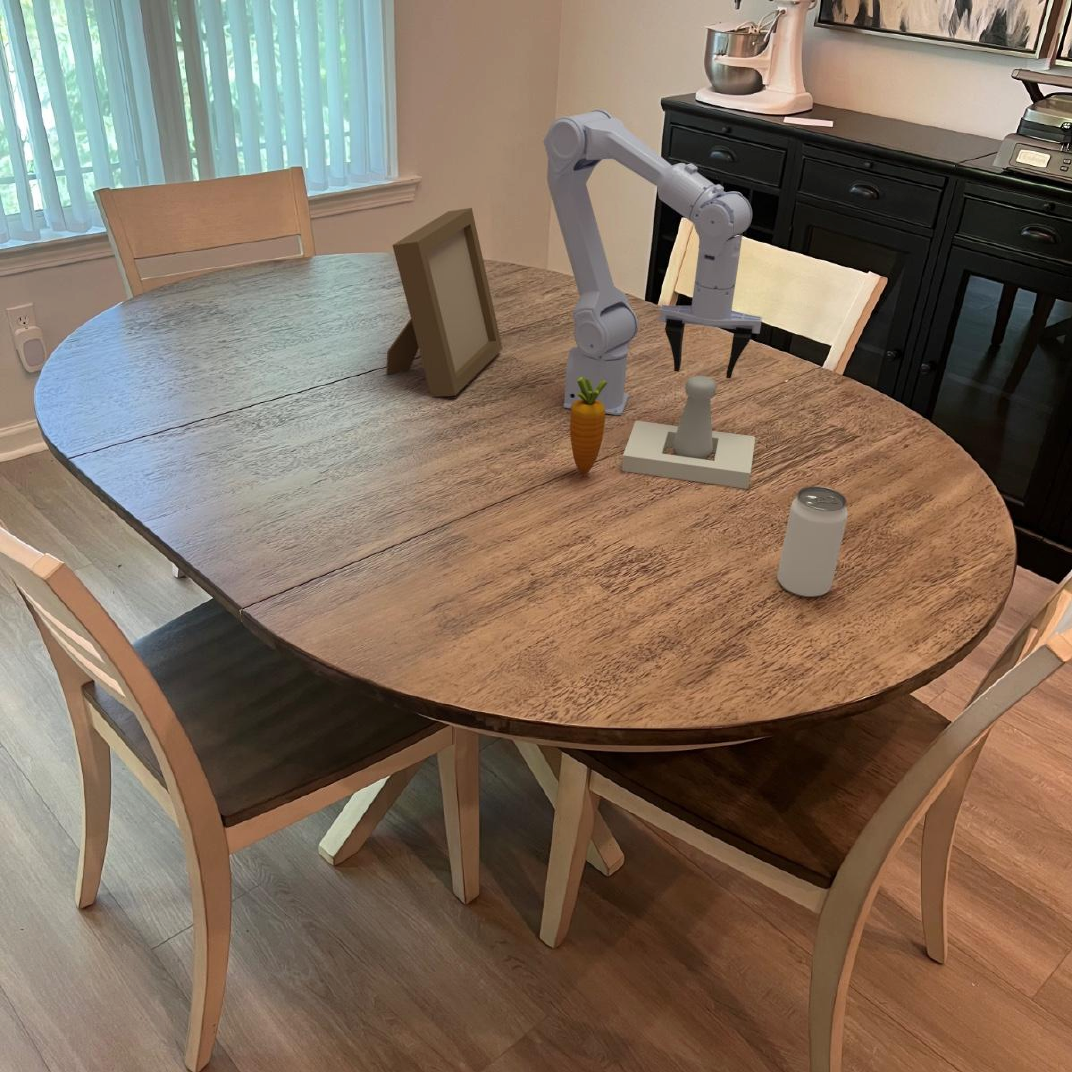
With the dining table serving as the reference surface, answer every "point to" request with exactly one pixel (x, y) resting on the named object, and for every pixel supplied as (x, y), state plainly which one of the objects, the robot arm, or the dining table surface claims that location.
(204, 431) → the dining table surface
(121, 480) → the dining table surface
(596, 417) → the carrot
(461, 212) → the photo frame
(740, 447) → the socket block
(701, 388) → the salt shaker
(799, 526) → the can
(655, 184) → the robot arm
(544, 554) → the dining table surface
